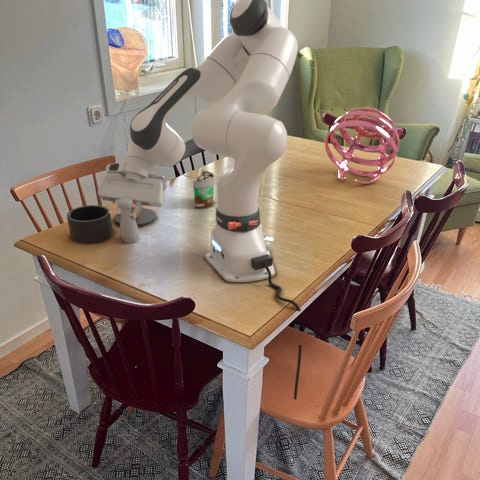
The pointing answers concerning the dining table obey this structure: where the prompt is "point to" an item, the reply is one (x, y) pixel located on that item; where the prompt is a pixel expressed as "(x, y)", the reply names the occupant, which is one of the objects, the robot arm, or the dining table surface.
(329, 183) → the dining table surface
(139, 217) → the canister lid
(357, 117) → the pink ring sphere sculpture
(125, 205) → the salt shaker
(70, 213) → the canister
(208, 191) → the food container
